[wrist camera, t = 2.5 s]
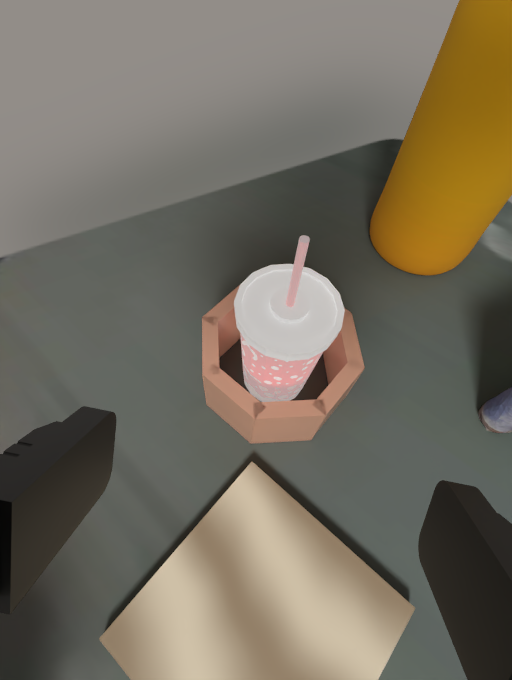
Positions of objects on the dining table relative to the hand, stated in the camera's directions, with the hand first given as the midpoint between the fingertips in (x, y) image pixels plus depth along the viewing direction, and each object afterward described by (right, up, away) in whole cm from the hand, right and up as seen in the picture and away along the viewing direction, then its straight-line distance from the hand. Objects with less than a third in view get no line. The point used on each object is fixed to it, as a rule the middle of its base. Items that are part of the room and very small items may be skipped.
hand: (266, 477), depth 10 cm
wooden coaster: (0, -12, +12) cm, 17 cm away
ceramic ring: (+1, +1, +20) cm, 20 cm away
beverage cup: (+1, +1, +20) cm, 20 cm away
